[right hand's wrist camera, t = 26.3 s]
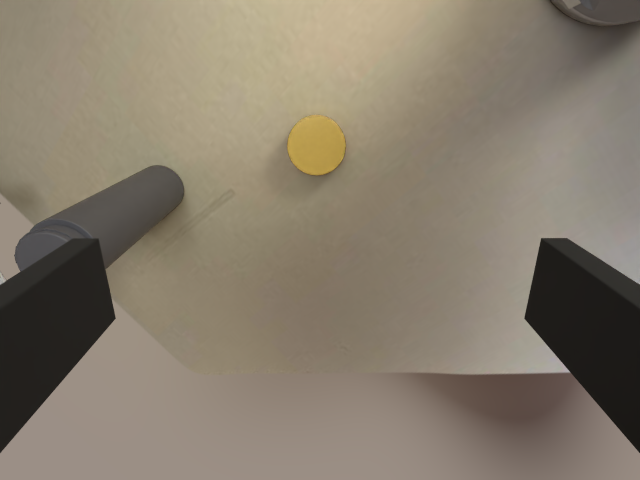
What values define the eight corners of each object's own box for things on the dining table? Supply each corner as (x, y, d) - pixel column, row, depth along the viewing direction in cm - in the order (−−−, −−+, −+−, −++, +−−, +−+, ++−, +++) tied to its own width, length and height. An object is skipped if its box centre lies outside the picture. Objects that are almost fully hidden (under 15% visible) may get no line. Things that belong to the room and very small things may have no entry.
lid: (278, 151, 39) (276, 154, 38) (308, 103, 38) (307, 104, 36) (324, 182, 40) (324, 186, 39) (355, 136, 39) (357, 138, 37)
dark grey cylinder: (184, 168, 40) (86, 231, 23) (183, 212, 41) (92, 302, 25) (136, 162, 40) (3, 222, 23) (138, 207, 41) (14, 293, 25)
